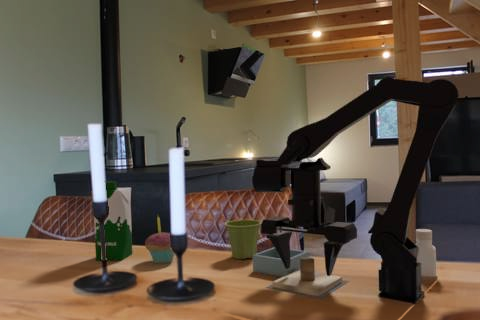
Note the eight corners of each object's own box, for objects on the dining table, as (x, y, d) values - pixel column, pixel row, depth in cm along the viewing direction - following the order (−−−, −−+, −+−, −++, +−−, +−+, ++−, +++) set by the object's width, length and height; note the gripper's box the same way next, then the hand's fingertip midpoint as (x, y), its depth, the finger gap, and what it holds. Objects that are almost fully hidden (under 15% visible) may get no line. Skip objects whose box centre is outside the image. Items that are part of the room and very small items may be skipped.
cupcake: (173, 265, 105) (171, 216, 104) (139, 265, 106) (138, 216, 106) (183, 256, 113) (182, 210, 113) (152, 256, 115) (150, 210, 114)
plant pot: (218, 259, 110) (217, 224, 109) (236, 250, 118) (235, 218, 118) (252, 263, 105) (251, 227, 105) (268, 253, 114) (267, 220, 113)
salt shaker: (437, 278, 89) (436, 232, 89) (416, 278, 90) (415, 232, 89) (432, 273, 93) (431, 228, 93) (412, 272, 94) (411, 228, 93)
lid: (342, 281, 88) (341, 257, 87) (318, 296, 80) (317, 269, 80) (298, 274, 94) (297, 250, 94) (272, 286, 86) (272, 261, 86)
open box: (309, 269, 98) (308, 251, 98) (288, 279, 91) (287, 260, 91) (275, 263, 104) (274, 246, 104) (253, 273, 97) (252, 255, 97)
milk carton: (91, 261, 111) (87, 183, 111) (106, 252, 120) (103, 180, 120) (123, 261, 110) (120, 182, 109) (137, 252, 119) (134, 179, 118)
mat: (348, 283, 88) (348, 281, 88) (321, 301, 78) (321, 299, 78) (296, 273, 95) (296, 272, 95) (265, 289, 86) (265, 287, 86)
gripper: (367, 191, 87) (369, 269, 87) (286, 187, 98) (288, 256, 99) (343, 197, 78) (345, 284, 78) (258, 193, 89) (260, 268, 90)
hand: (307, 271), depth 87 cm, fingers open, 9 cm apart
